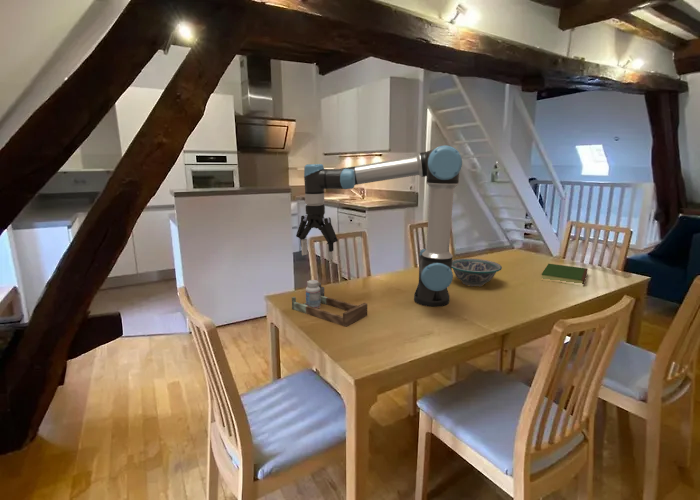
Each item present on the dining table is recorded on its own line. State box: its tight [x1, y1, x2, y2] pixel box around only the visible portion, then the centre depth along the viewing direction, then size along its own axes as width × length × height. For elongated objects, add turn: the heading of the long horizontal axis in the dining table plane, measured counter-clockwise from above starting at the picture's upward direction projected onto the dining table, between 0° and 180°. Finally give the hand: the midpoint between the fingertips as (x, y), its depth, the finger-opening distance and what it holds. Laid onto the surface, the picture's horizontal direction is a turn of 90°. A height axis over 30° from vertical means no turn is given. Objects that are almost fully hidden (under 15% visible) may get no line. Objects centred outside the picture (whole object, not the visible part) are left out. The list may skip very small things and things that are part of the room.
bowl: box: [452, 258, 503, 287], centre depth 195 cm, size 25×25×10 cm
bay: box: [291, 281, 368, 327], centre depth 161 cm, size 30×18×7 cm, turn 52°
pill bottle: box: [305, 279, 322, 309], centre depth 164 cm, size 6×6×11 cm
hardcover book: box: [540, 263, 588, 285], centre depth 205 cm, size 25×19×4 cm
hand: (316, 257), depth 160 cm, fingers open, 13 cm apart
